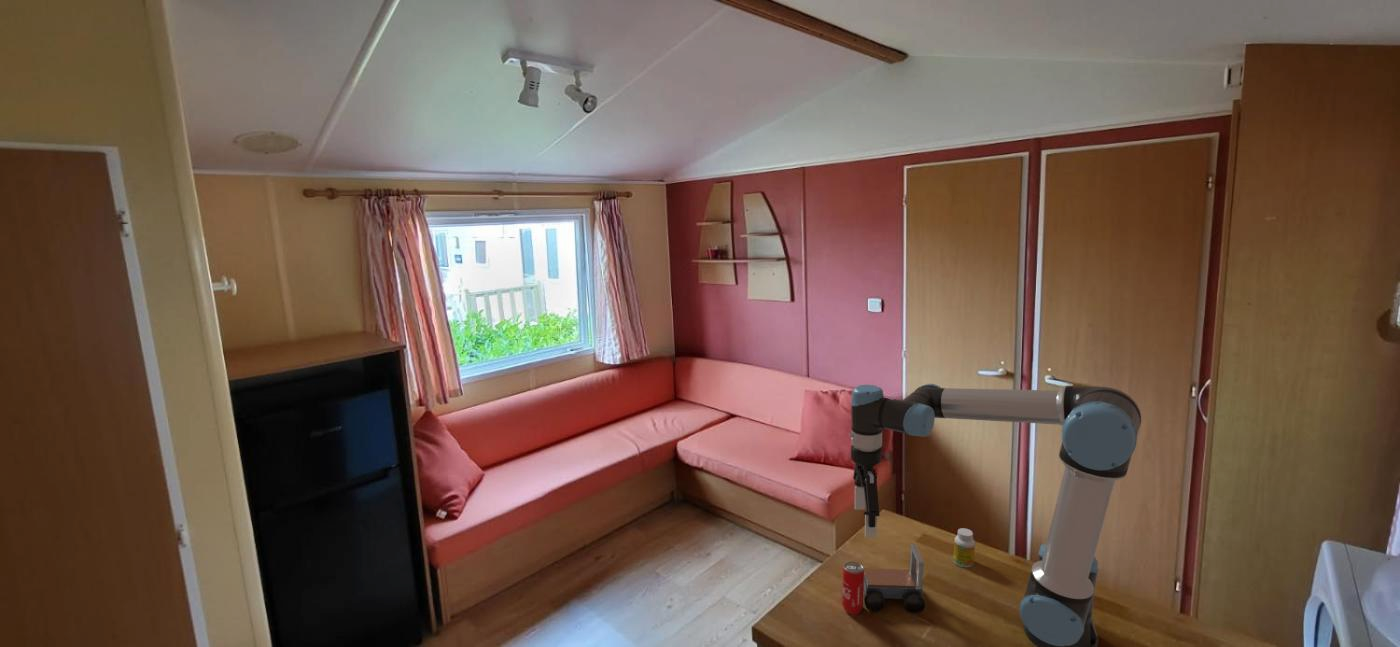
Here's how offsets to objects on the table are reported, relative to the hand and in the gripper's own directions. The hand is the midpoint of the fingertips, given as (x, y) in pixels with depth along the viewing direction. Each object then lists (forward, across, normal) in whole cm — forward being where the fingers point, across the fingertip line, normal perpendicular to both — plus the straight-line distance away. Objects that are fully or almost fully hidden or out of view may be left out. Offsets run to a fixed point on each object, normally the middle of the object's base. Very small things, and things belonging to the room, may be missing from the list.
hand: (865, 522), depth 158 cm
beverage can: (+22, +6, -4) cm, 23 cm away
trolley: (+21, +1, +6) cm, 22 cm away
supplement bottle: (+22, -15, +31) cm, 41 cm away
